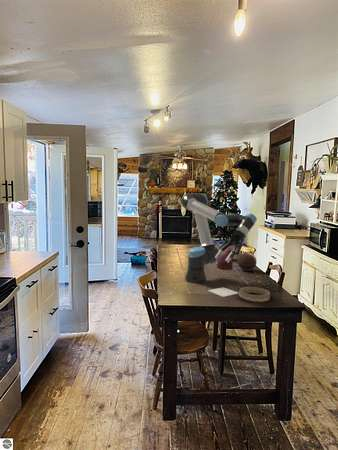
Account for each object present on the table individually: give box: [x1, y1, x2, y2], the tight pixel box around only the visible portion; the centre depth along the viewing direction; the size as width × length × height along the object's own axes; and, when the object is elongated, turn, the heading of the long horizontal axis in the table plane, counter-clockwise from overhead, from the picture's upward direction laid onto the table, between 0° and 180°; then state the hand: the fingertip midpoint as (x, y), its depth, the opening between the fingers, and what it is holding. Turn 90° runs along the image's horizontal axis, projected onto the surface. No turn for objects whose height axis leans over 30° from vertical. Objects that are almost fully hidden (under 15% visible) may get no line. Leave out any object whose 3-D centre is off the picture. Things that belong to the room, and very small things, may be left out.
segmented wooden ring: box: [238, 286, 271, 303], centre depth 209 cm, size 18×18×4 cm
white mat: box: [207, 286, 239, 298], centre depth 216 cm, size 14×14×1 cm
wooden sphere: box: [237, 252, 257, 272], centre depth 277 cm, size 15×15×15 cm
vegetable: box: [216, 248, 233, 271], centre depth 213 cm, size 10×10×15 cm
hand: (221, 259), depth 212 cm, fingers closed on vegetable, 9 cm apart
